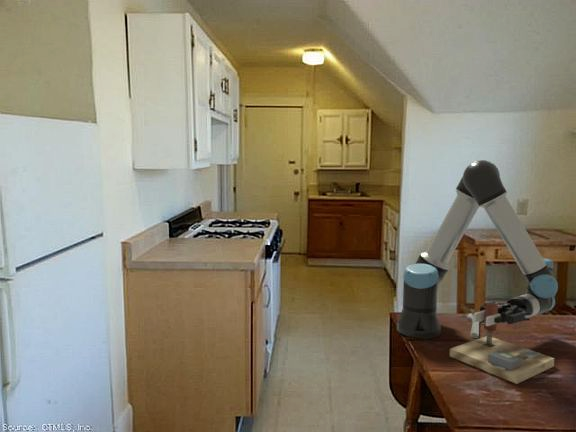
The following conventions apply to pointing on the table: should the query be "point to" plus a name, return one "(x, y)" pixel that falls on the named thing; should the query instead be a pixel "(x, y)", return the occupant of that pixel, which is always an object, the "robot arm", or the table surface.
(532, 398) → the table surface
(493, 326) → the awl
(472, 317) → the adjustable wrench
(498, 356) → the block
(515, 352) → the board
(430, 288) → the robot arm
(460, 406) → the table surface
